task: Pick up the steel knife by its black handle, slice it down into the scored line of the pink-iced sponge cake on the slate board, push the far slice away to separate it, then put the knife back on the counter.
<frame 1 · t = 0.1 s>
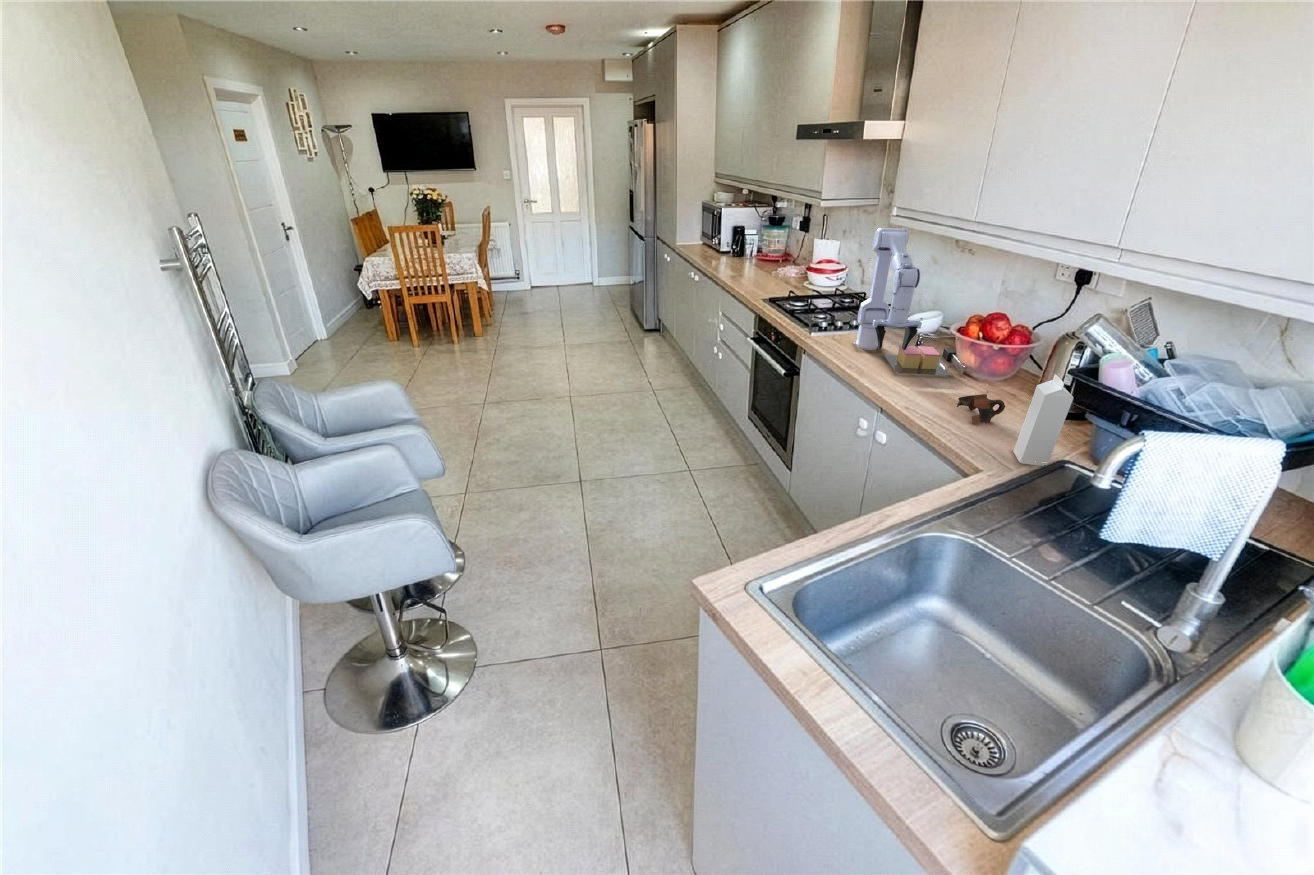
hand: (891, 348, 183), 10 cm above the countertop, tool pointing down, fingers open, 7 cm apart
cake slice: (925, 364, 196), point 1 cm above the countertop, touching board
pottery mug: (977, 418, 162), on the countertop
knife: (947, 360, 202), on the countertop
cake half: (907, 364, 197), point 1 cm above the countertop, touching board
milk: (1029, 459, 142), on the countertop
board: (915, 366, 197), on the countertop
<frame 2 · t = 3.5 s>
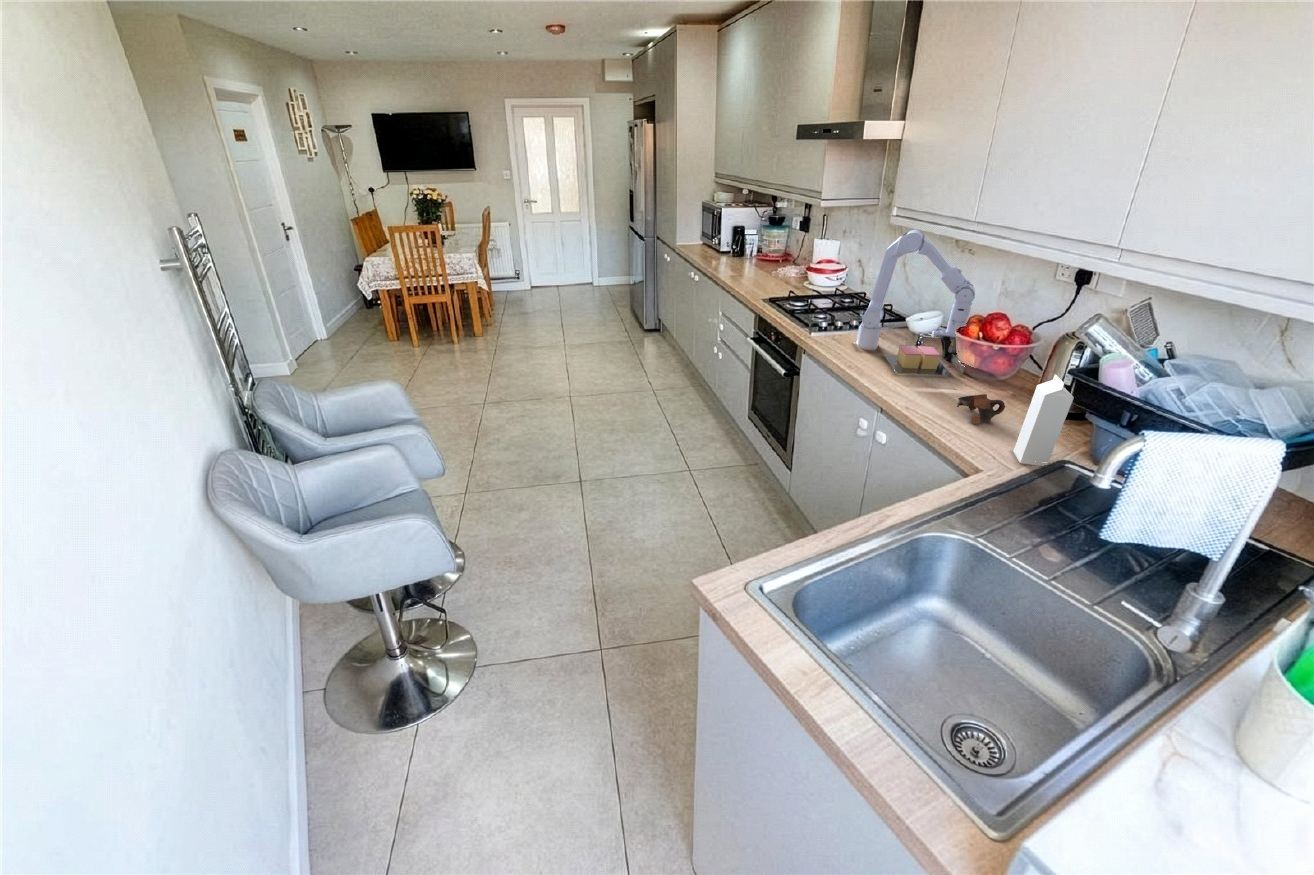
hand: (948, 357, 201), 1 cm above the countertop, tool pointing down, fingers closed on knife, 2 cm apart
knife: (947, 360, 202), on the countertop, touching gripper
everything else where it was.
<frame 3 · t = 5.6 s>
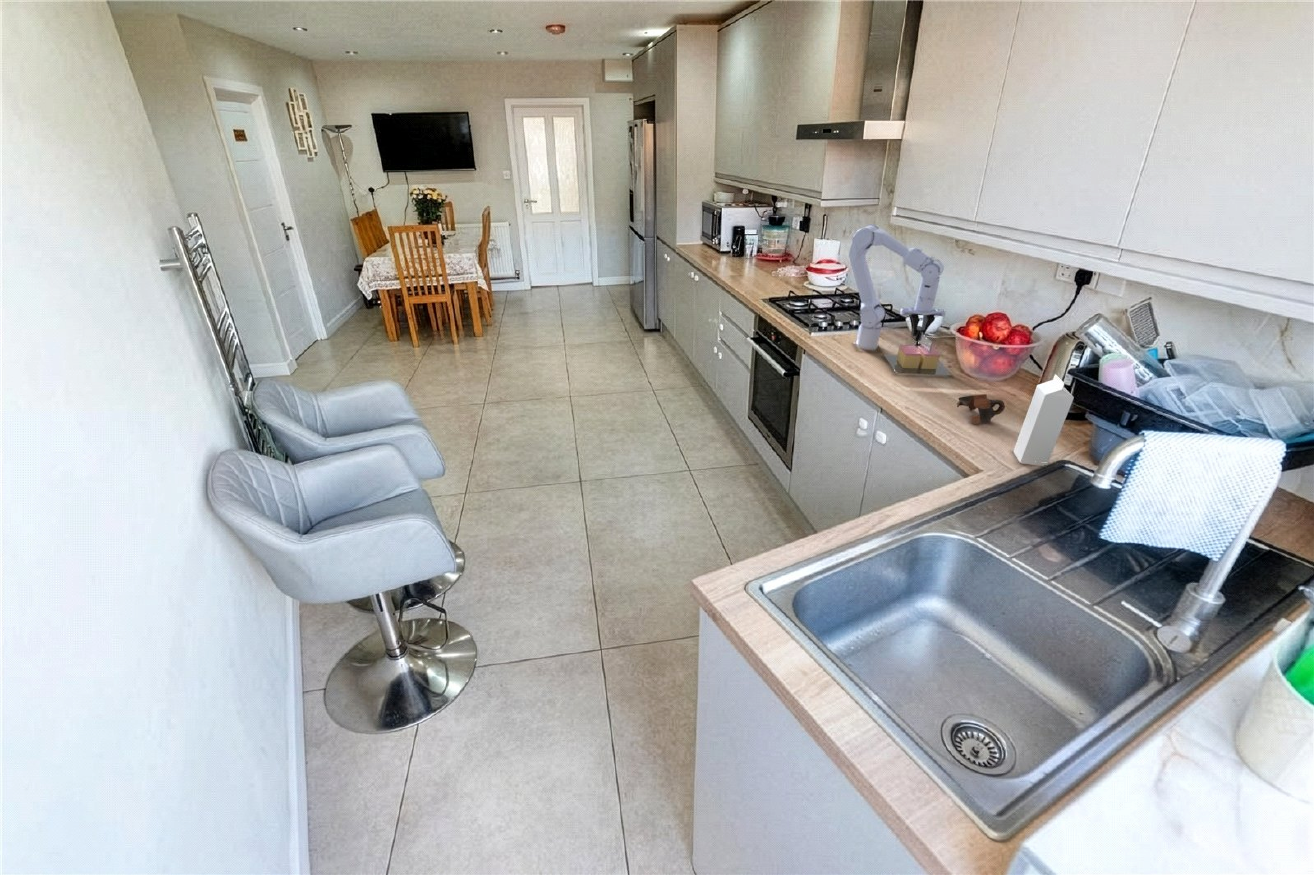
hand: (917, 335, 200), 9 cm above the countertop, tool pointing down, fingers closed on knife, 2 cm apart
knife: (916, 338, 201), point 7 cm above the countertop, touching gripper
everything else where it was.
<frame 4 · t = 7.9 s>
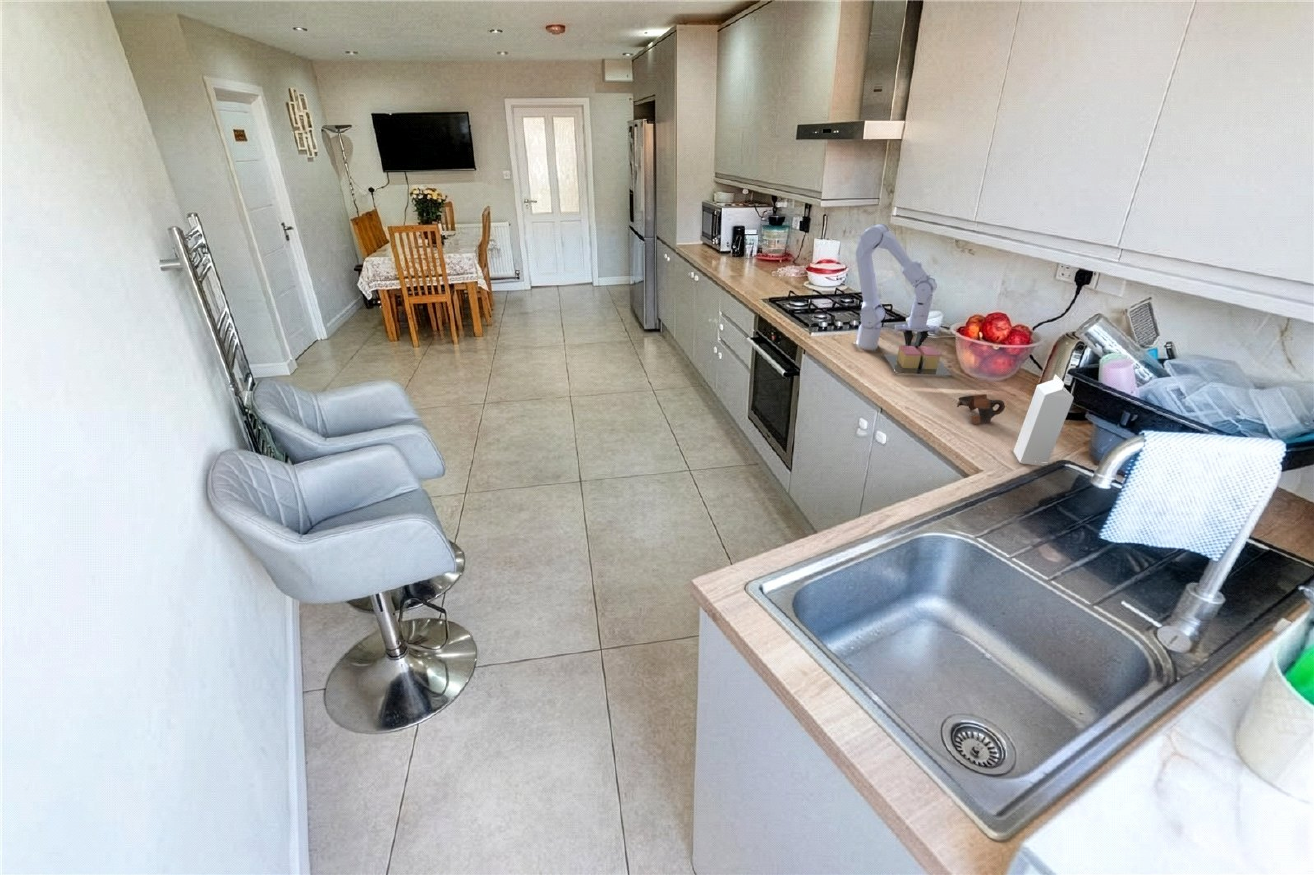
hand: (911, 350, 203), 3 cm above the countertop, tool pointing down, fingers closed on knife, 2 cm apart
cake slice: (925, 364, 196), point 1 cm above the countertop, touching knife
knife: (910, 354, 204), point 1 cm above the countertop, touching cake slice, gripper
everything else where it was.
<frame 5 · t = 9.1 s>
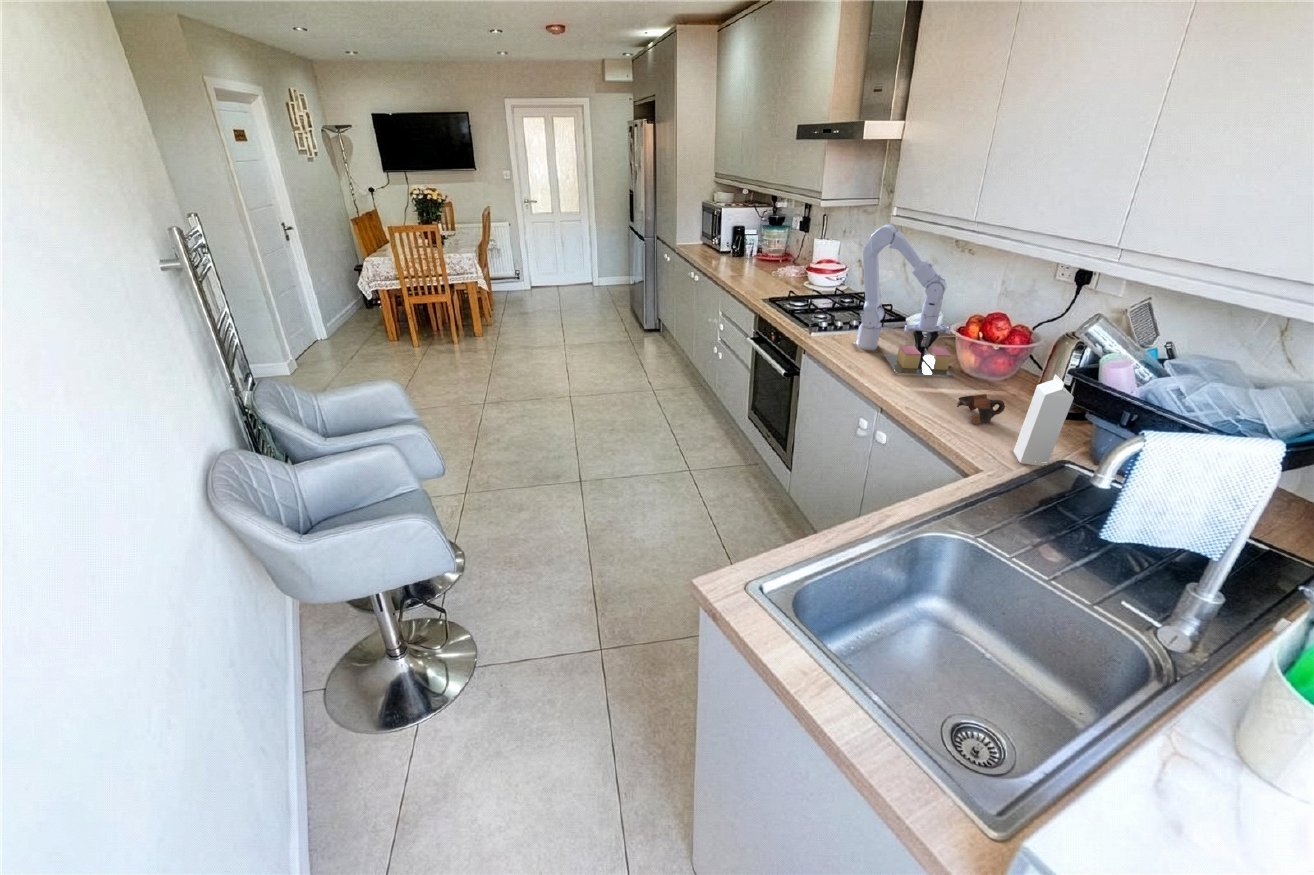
hand: (921, 351, 203), 2 cm above the countertop, tool pointing down, fingers closed on knife, 2 cm apart
cake slice: (936, 365, 196), point 1 cm above the countertop, touching board, knife
knife: (920, 354, 204), point 1 cm above the countertop, touching cake slice, gripper
everything else where it was.
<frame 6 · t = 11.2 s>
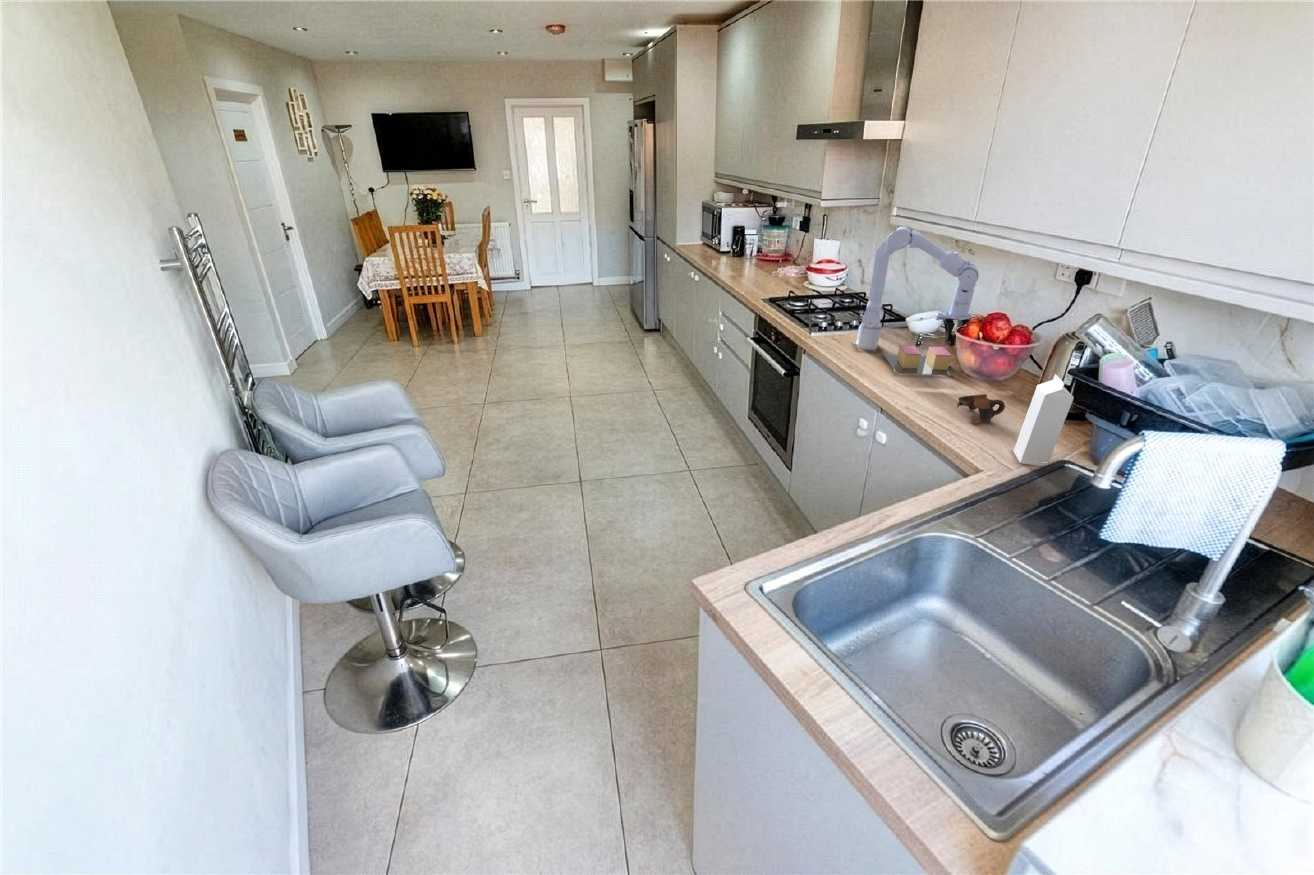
hand: (951, 340, 198), 8 cm above the countertop, tool pointing down, fingers closed on knife, 2 cm apart
cake slice: (936, 365, 196), point 1 cm above the countertop, touching board
knife: (950, 343, 199), point 6 cm above the countertop, touching gripper
everything else where it was.
when the fingers open (1 cm above the countertop, at t = 12.8 s): knife stays where it is, on the countertop.
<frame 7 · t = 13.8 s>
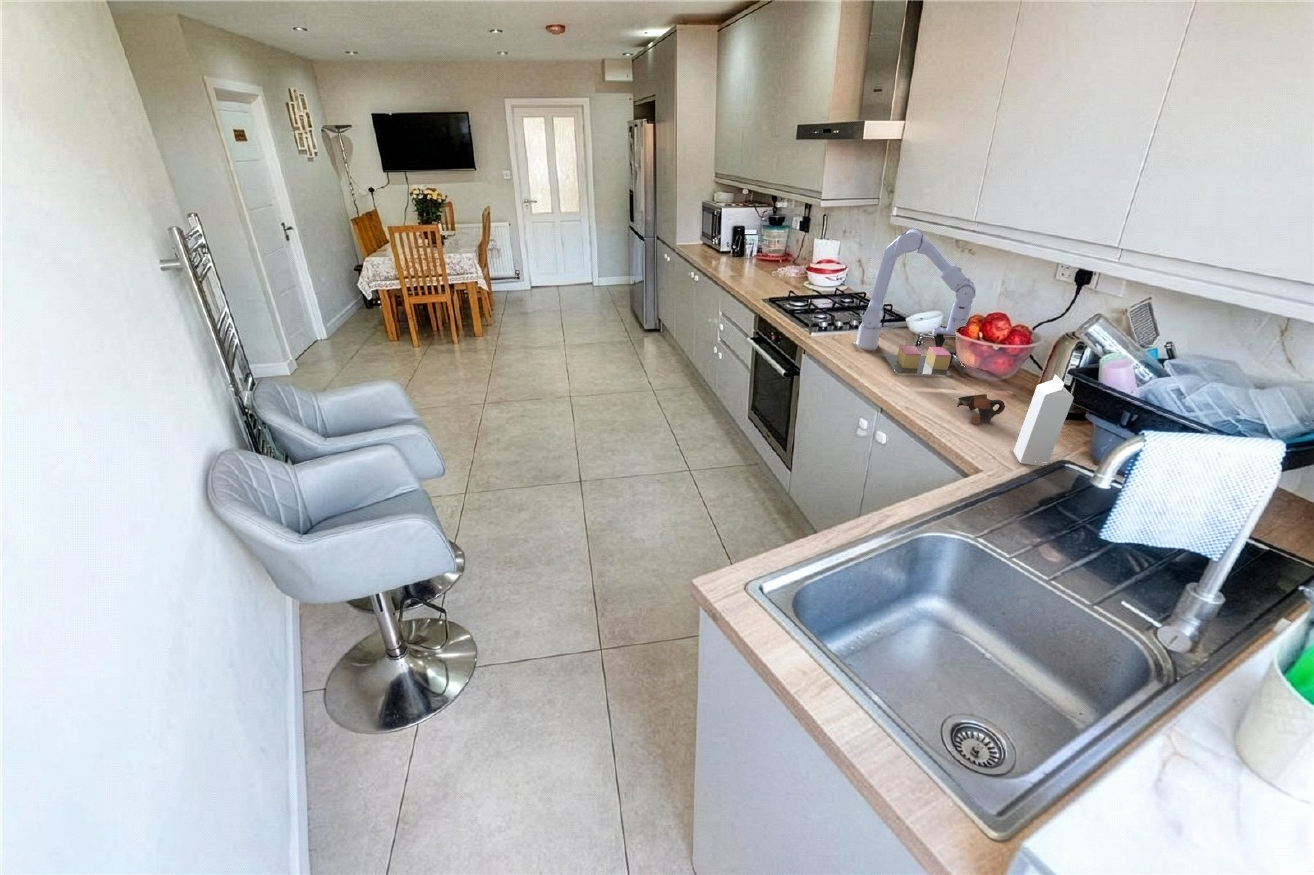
hand: (948, 355, 201), 2 cm above the countertop, tool pointing down, fingers open, 7 cm apart
knife: (947, 360, 201), on the countertop
everything else where it was.
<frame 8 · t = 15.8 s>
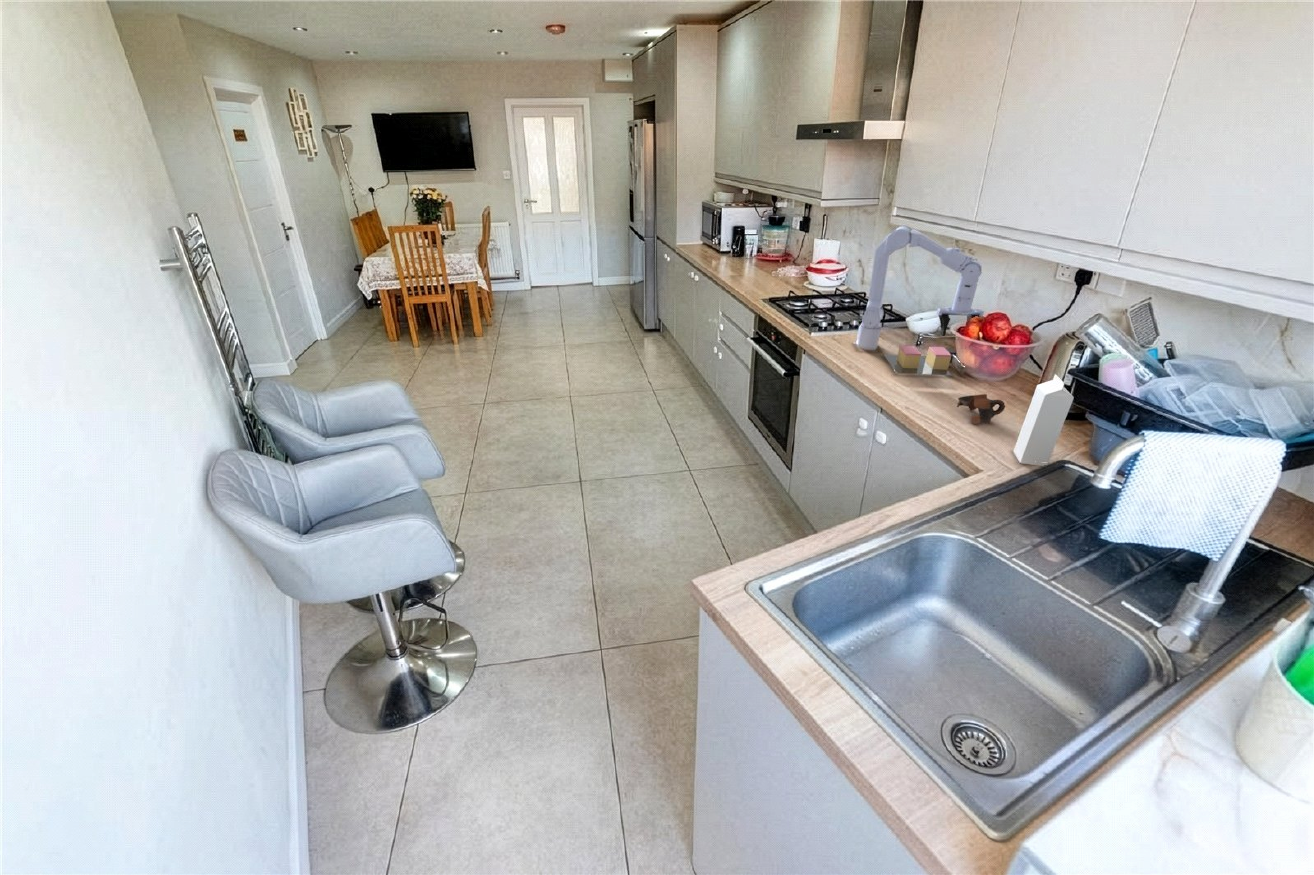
hand: (954, 335, 197), 9 cm above the countertop, tool pointing down, fingers open, 7 cm apart
nothing on the countertop moved.
at the end: cake slice moved 3.7 cm from its start; cake half moved 0.0 cm from its start; knife inside the target area (0.4 cm from its centre), on the countertop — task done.
